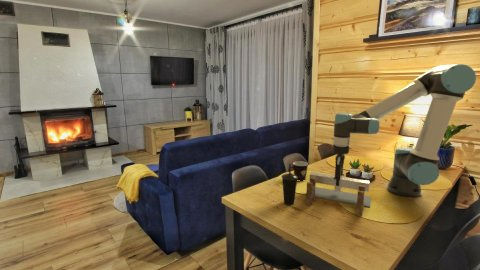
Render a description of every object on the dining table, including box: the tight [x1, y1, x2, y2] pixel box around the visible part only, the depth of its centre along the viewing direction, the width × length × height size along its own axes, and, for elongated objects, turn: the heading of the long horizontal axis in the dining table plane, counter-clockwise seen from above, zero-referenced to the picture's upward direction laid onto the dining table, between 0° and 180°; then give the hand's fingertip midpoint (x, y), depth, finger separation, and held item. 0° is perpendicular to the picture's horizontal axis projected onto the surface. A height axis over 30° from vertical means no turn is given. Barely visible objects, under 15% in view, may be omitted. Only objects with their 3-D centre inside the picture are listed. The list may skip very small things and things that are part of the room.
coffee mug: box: [288, 160, 309, 182], centre depth 155 cm, size 12×9×10 cm
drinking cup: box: [281, 163, 298, 206], centre depth 124 cm, size 8×8×20 cm
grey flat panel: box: [315, 186, 372, 208], centre depth 133 cm, size 30×12×1 cm, turn 62°
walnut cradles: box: [305, 177, 366, 217], centre depth 121 cm, size 24×8×11 cm, turn 62°
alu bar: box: [308, 171, 370, 193], centre depth 131 cm, size 28×4×4 cm, turn 62°
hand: (337, 189), depth 132 cm, fingers closed on alu bar, 4 cm apart
